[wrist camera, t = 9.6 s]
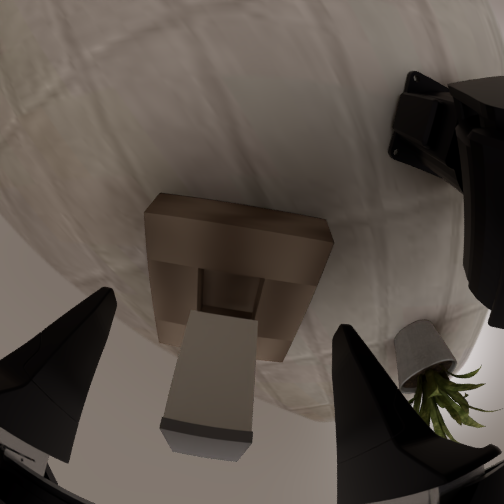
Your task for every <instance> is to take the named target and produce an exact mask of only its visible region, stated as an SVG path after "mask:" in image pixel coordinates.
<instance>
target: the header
mask: <svg viewBox="0 0 504 504" xmlns="http://www.w3.org/2000/svg"><path fill="white" fill-rule="evenodd" d="M144 221H145V236H146V249H147V260H148V269H149V278H150V286H151V294H152V301H153V308H154V315H155V321H156V327H157V333H158V339H159V343H163V344H167V345H172V346H176V347H181V344H182V340H183V337H184V333H185V329H186V326H187V322H188V319H189V315H190V312H191V310H194V311H199V312H205V313H211V314H217V315H223V316H229V317H235V318H242V319H249V320H256V321H258V331H257V349H256V360H264V361H274V362H283V360H284V358H285V356H286V354H287V352H288V350H289V348H290V346H291V344H292V341H293V339H294V337H295V335H296V333H297V331H298V329H299V326H300V324H301V322H302V320H303V318H304V315H305V313H306V311H307V308H308V306H309V304H310V302H311V299H312V297H313V295H314V292H315V290H316V287H317V285H318V283H319V280H320V278H321V275H322V273H323V270H324V268H325V265H326V263H327V260H328V258H329V255H330V253H331V250H332V247H333V245H334V241H333V238H332V235H331V232H330V229H329V227H328V224H327V221H326V220H325V219H320V218H315V217H310V216H305V215H299V214H294V213H289V212H283V211H278V210H272V209H266V208H260V207H254V206H248V205H242V204H236V203H229V202H223V201H216V200H209V199H202V198H195V197H188V196H180V195H173V194H165V193H160V194H159V195H158V196H157V197H156V198H155V200H154V201H153V202H152V203H151V204H150V206H149V207H148V208H147V209H146V211H145V212H144Z"/></svg>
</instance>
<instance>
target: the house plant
mask: <svg viewBox="0 0 504 504" xmlns="http://www.w3.org/2000/svg"><path fill="white" fill-rule="evenodd" d="M394 343H395V350H396V359H397V369H398V380H399V390H400V391H401V392H402V393H405V394H411V393H415V395H414V398H412V399H411V400H409V401H408V402H409V404H411V403H413V401H414V406H413V408H414V410H415V411H416V412H417V413H418V414H419V415H420V417H421V418H422V419H423V420H424V421H425V422H426V424H427V425H428V426H430V417H431V420H432V423H433V427H434V431H435V433H436V434H437V435H439V436H441V437H443V438H446V439H447V437H446V435H447V436H448V437H449V438H450V439H451V440H452V441H455V442H457V441H456V440H455V439H454V438H453V437H452V435H451V434H450V432H449V430H448V429H447V427H446V425H445V423H444V420H443V418H442V416H441V414H440V411H439V409H438V406H437V404H438V405H439V406H440V407H441V408H446V409H447V411H448V412H449V413H450V415H451V417H452V418H453V419H455V420H456V422H457V423H458V424H460V425H462V423H463V424H465V425H468V426H473V427H477V428H480V427H484V426H482V425H481V424H478V423H477V422H476V421H474V420H473V419H472V418H470V417H469V416H468V414H469V408H471V409H475V410H479V411H482V412H493V411H485V410H482V409H478V408H474V407H471V406H469V404H468V402H467V401H466V399H465V397H467V396H468V394H466V393H465V396H464V397H463V396H462V395H461V394H460V393H459V392H458V391H466V390H472V389H476V388H478V387H480V386H482V385H484V384H477V385H475V384H456V383H454V382H452V381H450V380H449V378H448V376H449V375H452V376H454V377H457V378H470V377H472V376H474V375H475V374H476V373H477V372H478V371H479V369H480V368H481V367H480V368H479V369H477V370H475V371H473V372H471V373H468V374H464V375H454V374H452V372H453V371H454V369H455V368H456V365H457V361H456V359H455V358H454V356H453V354H452V353H451V351H450V350H449V348H448V347H447V345H446V344H445V342H444V340H443V339H442V337H441V336H440V335H439V333H438V332H437V330H436V329H435V327H434V326H433V324H432V323H431V322H430V321H428V320H420V321H416V322H414V323H412V324H410V325H408V326H407V327H405V328H404V329H402V330H401V331H400V332H399V333H398V334H397V335H396V337H395V340H394ZM422 394H423V397H422V404H421V408H420V403H421V396H422ZM448 395H449V396H450V397H451V398H452V399H453V400H454V401H455V402H457V403H458V404H459V405H460V406H461V407H460V406H459V405H458V404H456V403H455V402H454V401H453V400H452V399H451V398H450V397H449V396H448ZM411 405H412V404H411ZM419 409H420V411H419ZM445 433H446V434H445ZM458 443H459V442H458Z"/></svg>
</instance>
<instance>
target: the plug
mask: <svg viewBox="0 0 504 504" xmlns="http://www.w3.org/2000/svg"><path fill="white" fill-rule="evenodd" d="M257 331H258V321H256V320H249V319H242V318H235V317H229V316H223V315H217V314H211V313H205V312H199V311H194V310H191V312H190V315H189V319H188V322H187V326H186V329H185V333H184V337H183V340H182V344H181V348H180V352H179V355H178V359H177V363H176V367H175V371H174V375H173V379H172V383H171V387H170V391H169V395H168V399H167V403H166V408H165V412H164V416H163V417H162V419H161V424H160V430H161V432H162V434H163V435H164V437H165V439H166V441H167V442H168V444H169V446H170V448H171V449H172V451H173V452H178V453H182V454H187V455H193V456H198V457H205V458H211V459H218V460H226V461H236V462H237V461H238V460H239V459H240V457H241V456H242V455H243V454H244V453H245V451H246V450H247V449H248V448H249V446H250V445H251V444H252V437H253V432H252V417H253V416H252V415H253V401H254V384H255V367H256V349H257Z"/></svg>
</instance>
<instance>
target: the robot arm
mask: <svg viewBox="0 0 504 504" xmlns="http://www.w3.org/2000/svg"><path fill="white" fill-rule="evenodd" d="M414 75H416V77H417V81H415V80H414ZM448 88H449V89H448ZM448 88H446V87H445V86H443V85H441V84H440V83H438V82H436V81H434V80H433V79H431V78H429V77H427V76H425V75H423V74H421V73H419V72H417V71H411V72H409V74H408V77H407V81H406V86H405V90H404V93H402V94H401V97H400V101H399V105H398V109H397V113H396V116H395V120H394V124H393V129H394V133H393V136H392V139H391V143H390V146H389V150H388V153H389V155H390V157H391V158H393V159H394V160H397V161H400V162H402V163H405V164H408V165H411V166H413V167H416V168H418V169H421V170H423V171H426V172H428V173H431V174H433V175H435V176H438V177H440V178H442V179H444V180H446V181H447V182H448V183H449V184H451V185H452V186H453V187H454V188H456V189H457V190H458V191H459V192H461V193H462V194H463V195H464V255H463V266H464V270H465V273H466V277H467V280H468V281H469V285H468V287H469V289H470V290H471V292H472V293H473V295H474V296H475V297H476V299H478V300H479V301H480V302H481V303H482V304H483V305H484V306H486V307H487V308H488V309H490V310H491V313H490V317H489V320H488V324H489V325H490V326H492V327H496V328H501V329H504V76H496V77H487V78H480V79H473V80H467V81H461V82H456V83H450V84H448ZM396 149H397V150H398V153H397V154H396V155H394V151H395V150H396ZM116 308H117V301H116V298H115V294H114V291H113V289H112V288H109V287H102V288H100V289H99V290H98V291H96V292H95V293H93V294H92V295H90V296H89V297H88V298H86V299H85V300H83V301H82V302H81V303H79V304H78V305H76V306H75V307H74V308H72V309H71V310H70V311H68V312H67V313H65V314H64V315H63V316H62V317H60V318H59V319H57V320H56V321H55V322H53V323H52V324H51V325H49V326H48V327H47V328H45V329H44V330H43V331H42V333H41V332H40V333H39V334H37V335H36V336H35V337H34V338H32V339H31V340H29V341H28V342H27V343H25V344H24V345H22V346H21V347H20V348H18V349H16V350H15V351H14V352H12V353H10V354H9V355H7V356H6V357H4V358H3V359H1V360H0V504H95V503H92V502H90V501H88V500H85V499H84V498H81V497H79V496H77V495H75V494H73V493H71V492H69V491H67V490H66V489H64V488H62V487H60V486H58V483H57V481H56V479H55V477H54V475H53V473H52V471H51V469H50V467H49V465H48V463H47V461H48V458H49V455H50V456H52V457H54V458H56V459H59V460H61V461H63V462H65V463H69V460H70V455H71V451H72V447H73V442H74V439H75V435H76V431H77V428H78V422H79V420H80V417H81V413H82V410H83V406H84V403H85V400H86V397H87V394H88V391H89V388H90V385H91V382H92V379H93V376H94V373H95V371H96V368H97V365H98V362H99V360H100V357H101V354H102V352H103V349H104V346H105V344H106V341H107V338H108V335H109V331H110V328H111V325H112V321H113V318H114V314H115V311H116ZM332 382H333V394H334V407H335V423H336V442H337V464H338V465H337V504H504V460H502V461H500V462H498V463H497V464H495V465H493V466H491V467H489V468H486V469H484V464H485V463H487V462H489V461H490V460H492V459H494V458H495V457H497V456H498V455H500V454H501V453H502V451H501V450H500V449H499V448H498V447H497V446H495V445H492V444H489V445H488V446H486V447H484V448H475V447H471V446H467V445H464V444H461V443H458V442H455V441H452V440H448V439H446V438H443V437H441V436H439V435H437V434H436V433H435V432H434V431H433V430H432V429H431V428H430V427H429V426H428V425H427V424H426V422H425V421H424V420H423V419H422V418H421V417H420V415H419V414H418V413H417V412H416V411H415V410H414V408H413V407H412V406H411V405H410V404H409V402H408V401H407V400H406V398H405V397H404V396H403V394H402V393H401V391H400V390H399V389H398V387H397V386H396V385H395V383H394V382H393V380H392V379H391V378H390V376H389V375H388V374H387V372H386V371H385V369H384V368H383V367H382V365H381V364H380V363H379V361H378V360H377V359H376V357H375V356H374V355H373V353H372V352H371V351H370V349H369V348H368V347H367V345H366V344H365V343H364V341H363V340H362V339H361V337H360V336H359V335H358V333H357V332H356V331H355V329H354V328H353V327H352V326H351V325H349V324H341V325H340V326H339V328H338V329H337V331H336V333H335V334H334V336H333V340H332Z"/></svg>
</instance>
